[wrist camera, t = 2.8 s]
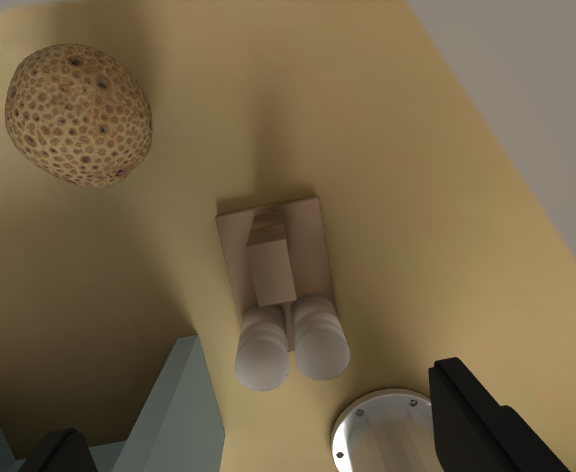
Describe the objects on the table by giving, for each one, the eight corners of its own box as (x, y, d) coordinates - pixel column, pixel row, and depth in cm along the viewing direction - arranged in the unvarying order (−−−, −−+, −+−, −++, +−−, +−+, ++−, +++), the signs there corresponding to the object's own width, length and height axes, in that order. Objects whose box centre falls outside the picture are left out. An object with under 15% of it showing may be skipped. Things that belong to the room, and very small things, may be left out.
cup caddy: (316, 195, 32) (338, 221, 21) (338, 333, 35) (367, 415, 24) (217, 213, 32) (189, 248, 21) (249, 350, 35) (239, 439, 24)
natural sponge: (168, 187, 31) (120, 207, 21) (62, 172, 30) (-38, 185, 20) (175, 75, 28) (126, 40, 19) (61, 56, 28) (-51, 10, 18)
